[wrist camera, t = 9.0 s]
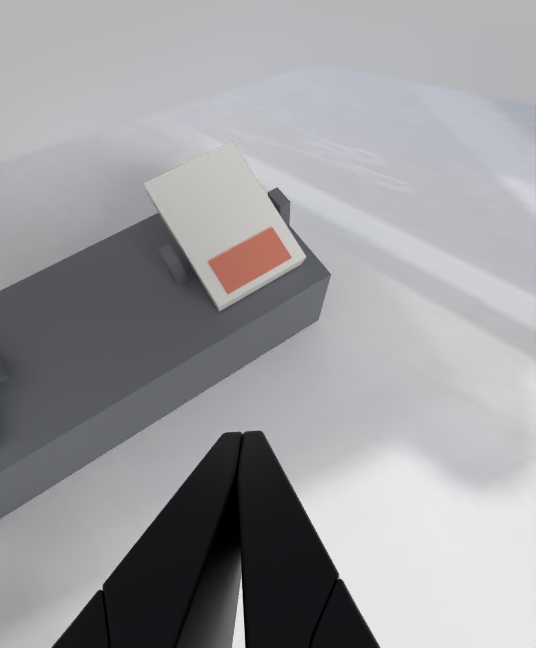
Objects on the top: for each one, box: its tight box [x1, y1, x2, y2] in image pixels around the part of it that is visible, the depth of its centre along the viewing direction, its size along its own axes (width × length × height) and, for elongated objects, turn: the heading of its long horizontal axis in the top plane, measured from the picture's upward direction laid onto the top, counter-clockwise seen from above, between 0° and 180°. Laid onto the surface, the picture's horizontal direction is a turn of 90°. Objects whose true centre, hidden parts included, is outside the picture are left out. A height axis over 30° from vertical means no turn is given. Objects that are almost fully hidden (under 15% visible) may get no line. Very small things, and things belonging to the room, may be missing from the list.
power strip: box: [0, 187, 331, 518], centre depth 18 cm, size 9×23×8 cm, turn 123°
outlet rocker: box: [143, 141, 306, 312], centre depth 16 cm, size 7×5×1 cm
